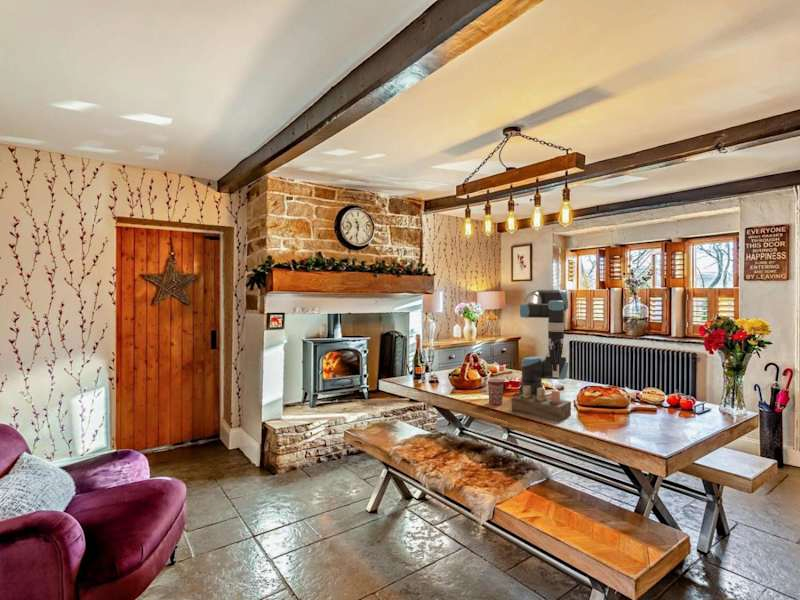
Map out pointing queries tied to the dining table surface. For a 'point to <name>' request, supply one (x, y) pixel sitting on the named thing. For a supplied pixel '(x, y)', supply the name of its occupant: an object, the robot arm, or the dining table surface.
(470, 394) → the dining table surface
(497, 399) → the mug
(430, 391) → the dining table surface
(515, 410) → the socket board
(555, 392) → the plug
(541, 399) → the plug mid
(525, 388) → the plug
